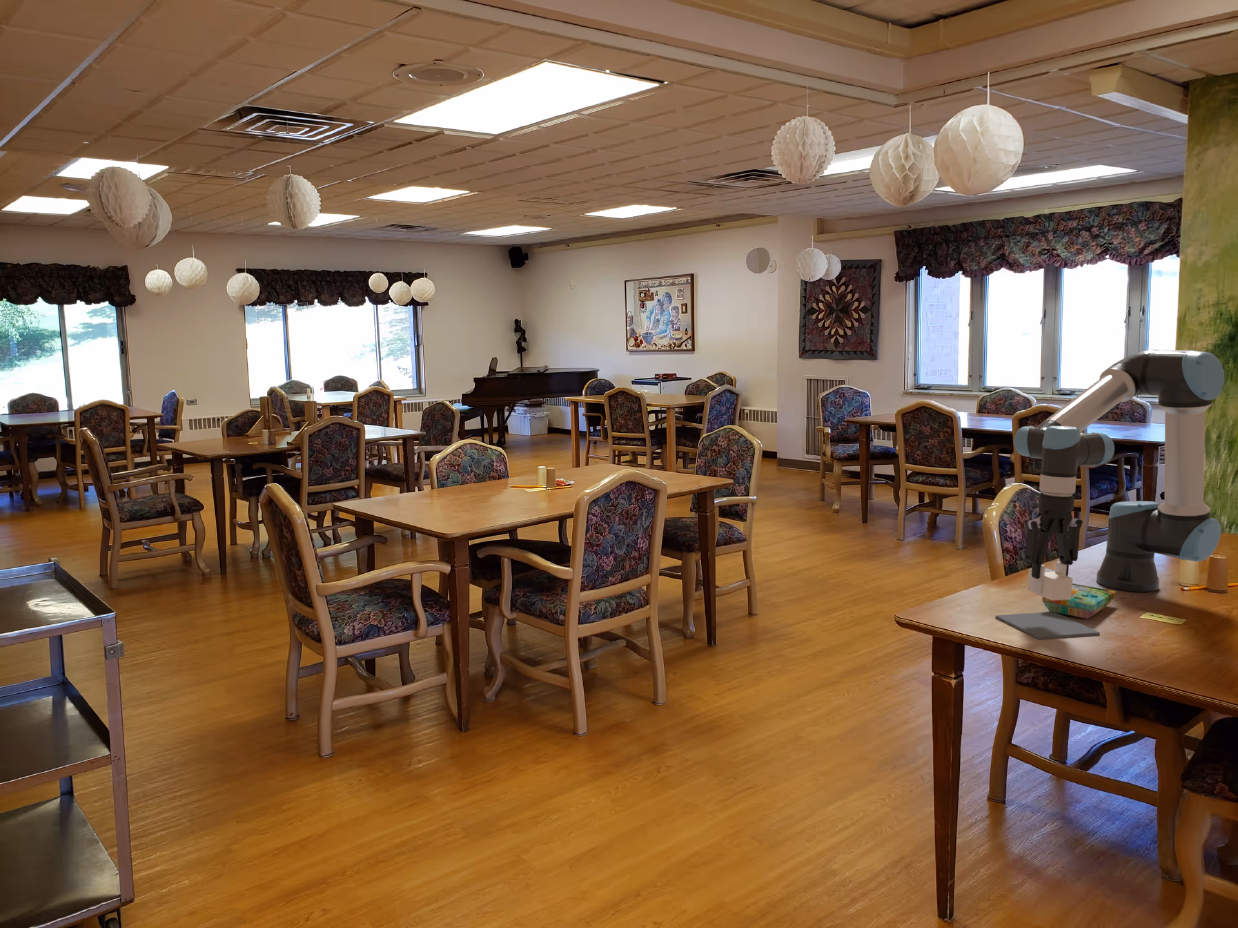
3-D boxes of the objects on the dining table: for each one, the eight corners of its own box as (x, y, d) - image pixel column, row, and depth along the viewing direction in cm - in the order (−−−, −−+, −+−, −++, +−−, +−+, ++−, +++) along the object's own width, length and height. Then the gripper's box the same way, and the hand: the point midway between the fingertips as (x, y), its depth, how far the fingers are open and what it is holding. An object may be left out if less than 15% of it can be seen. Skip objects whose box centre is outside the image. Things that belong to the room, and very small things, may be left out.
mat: (1052, 613, 230) (1053, 611, 230) (1099, 634, 215) (1099, 632, 215) (995, 617, 227) (995, 615, 227) (1038, 639, 211) (1038, 636, 211)
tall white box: (1071, 599, 215) (1072, 578, 215) (1051, 600, 214) (1053, 579, 214) (1045, 588, 224) (1047, 568, 223) (1026, 589, 223) (1028, 568, 222)
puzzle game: (1042, 591, 230) (1068, 579, 245) (1041, 610, 230) (1066, 596, 245) (1094, 601, 222) (1117, 588, 237) (1092, 620, 223) (1115, 606, 238)
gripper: (1079, 489, 222) (1070, 584, 225) (1012, 491, 218) (1004, 588, 221) (1102, 495, 214) (1093, 593, 218) (1033, 497, 210) (1024, 597, 214)
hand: (1048, 590), depth 219 cm, fingers closed on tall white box, 5 cm apart
